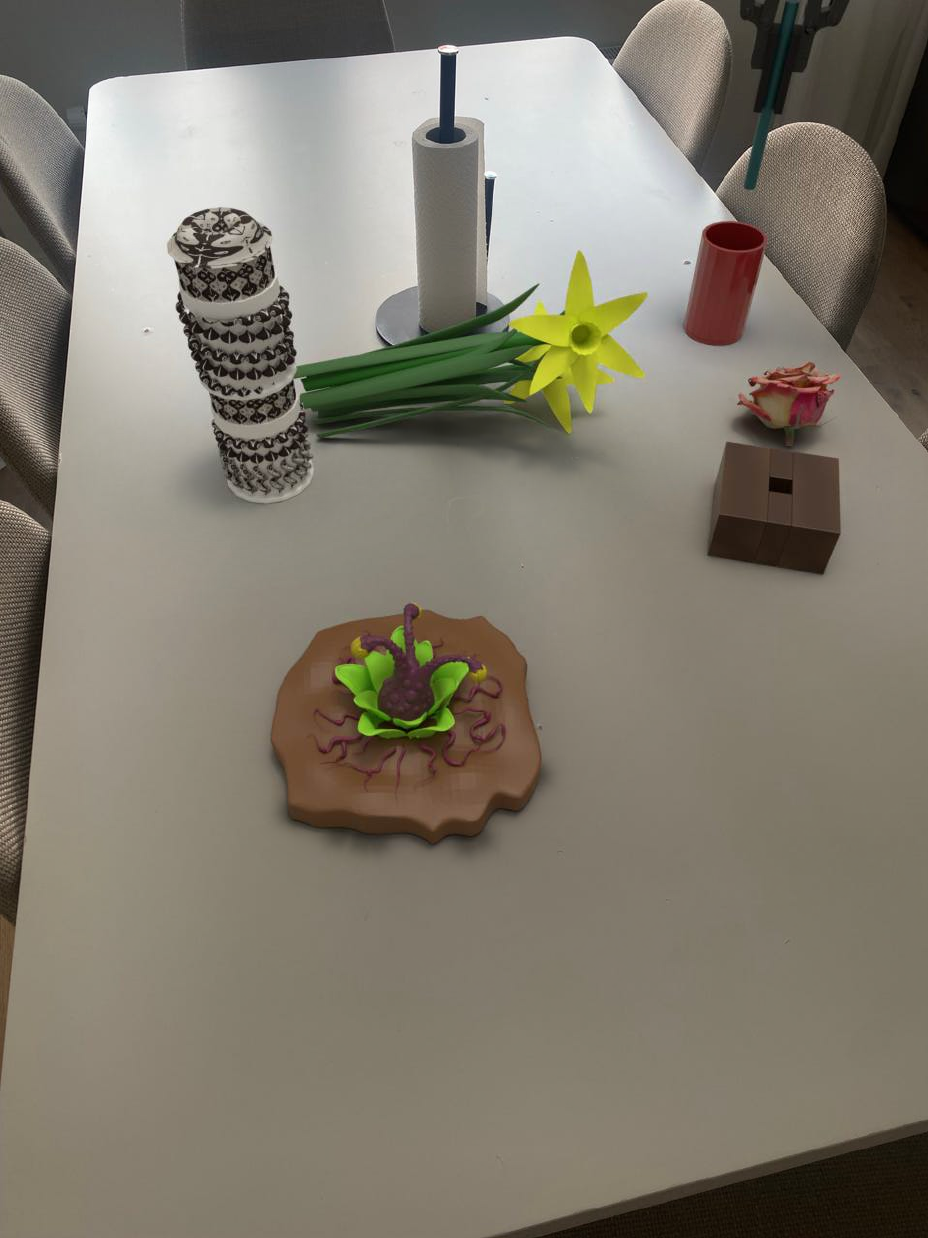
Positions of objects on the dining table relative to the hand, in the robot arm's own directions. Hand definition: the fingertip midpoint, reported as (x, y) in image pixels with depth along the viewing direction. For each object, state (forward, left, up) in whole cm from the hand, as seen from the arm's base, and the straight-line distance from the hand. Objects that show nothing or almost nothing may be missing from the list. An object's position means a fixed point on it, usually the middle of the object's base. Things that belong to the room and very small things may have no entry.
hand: (767, 107), depth 85 cm
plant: (+19, +59, -24) cm, 67 cm away
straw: (0, 0, -7) cm, 7 cm away
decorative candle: (+40, +34, -24) cm, 58 cm away
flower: (-7, +15, -24) cm, 30 cm away
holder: (-7, +30, -24) cm, 40 cm away
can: (0, -2, -24) cm, 24 cm away
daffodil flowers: (+24, +23, -24) cm, 42 cm away
